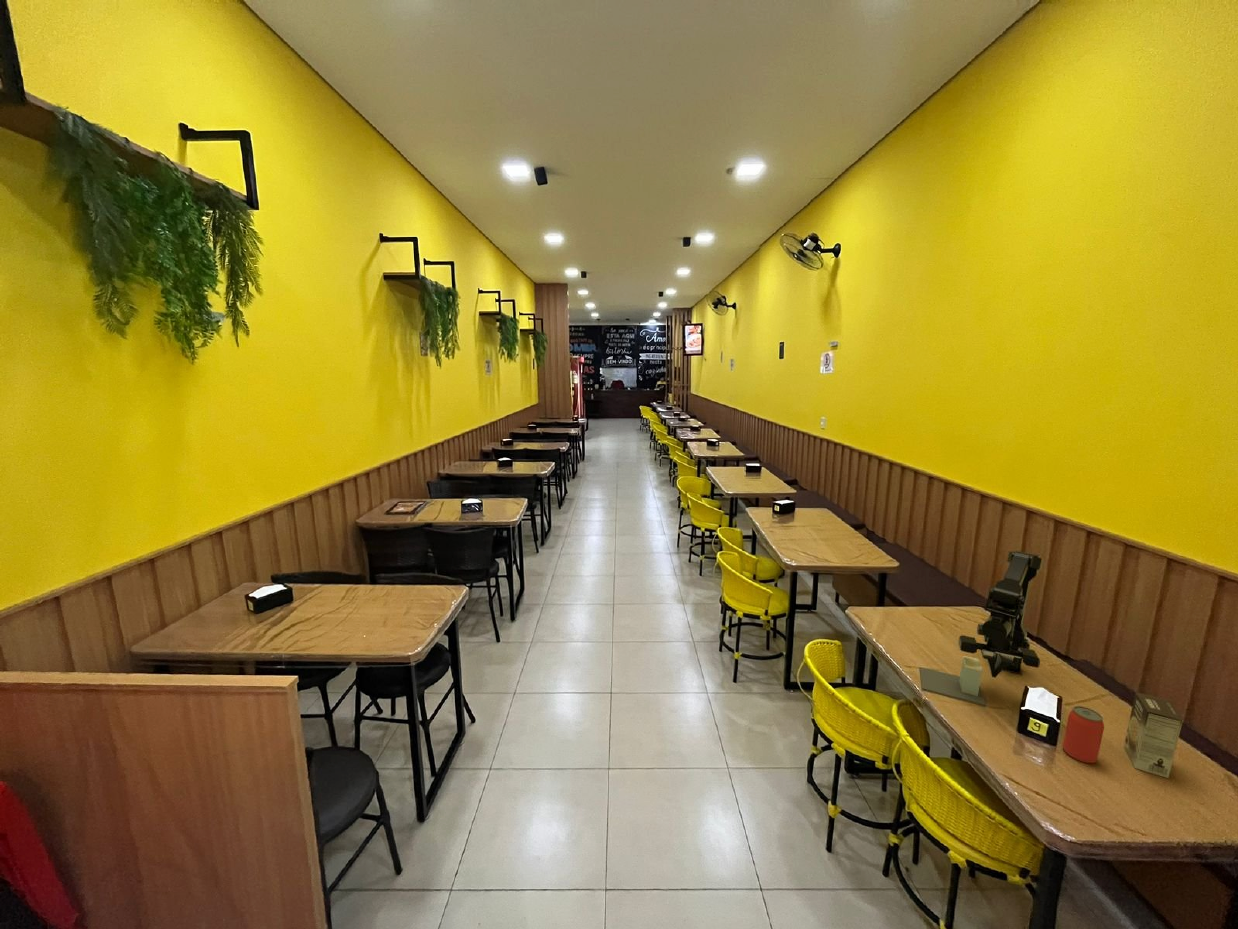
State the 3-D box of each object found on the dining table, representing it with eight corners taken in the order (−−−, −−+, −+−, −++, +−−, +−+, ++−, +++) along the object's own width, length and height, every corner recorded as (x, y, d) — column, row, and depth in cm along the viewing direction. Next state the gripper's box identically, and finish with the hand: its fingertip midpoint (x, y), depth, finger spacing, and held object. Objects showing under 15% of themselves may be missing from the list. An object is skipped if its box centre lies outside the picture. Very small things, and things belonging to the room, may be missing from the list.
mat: (978, 682, 156) (978, 681, 156) (985, 706, 145) (985, 704, 145) (919, 668, 164) (919, 666, 164) (922, 689, 153) (922, 688, 152)
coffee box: (1121, 745, 130) (1134, 690, 127) (1156, 755, 127) (1169, 699, 124) (1133, 768, 123) (1146, 710, 120) (1170, 779, 119) (1185, 720, 116)
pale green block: (974, 685, 154) (978, 659, 152) (977, 696, 149) (982, 669, 147) (959, 681, 156) (963, 655, 154) (961, 692, 151) (965, 665, 149)
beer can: (1090, 750, 128) (1098, 709, 126) (1101, 768, 123) (1111, 725, 120) (1058, 742, 131) (1065, 701, 129) (1067, 759, 125) (1076, 717, 123)
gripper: (1033, 624, 149) (1025, 671, 151) (959, 610, 157) (952, 655, 160) (1044, 641, 139) (1035, 691, 142) (964, 625, 147) (957, 673, 150)
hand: (993, 676), depth 149 cm, fingers closed
